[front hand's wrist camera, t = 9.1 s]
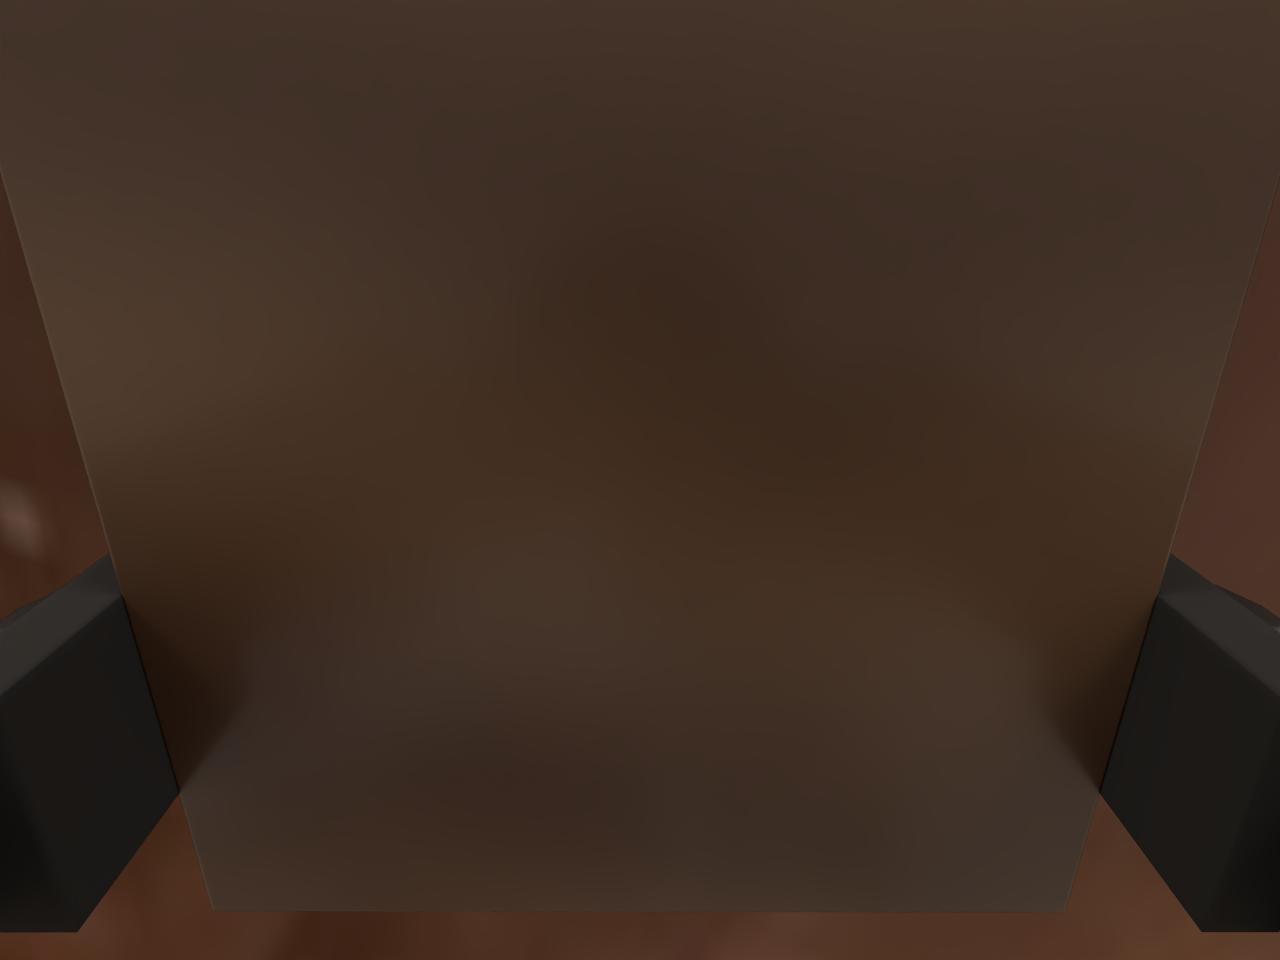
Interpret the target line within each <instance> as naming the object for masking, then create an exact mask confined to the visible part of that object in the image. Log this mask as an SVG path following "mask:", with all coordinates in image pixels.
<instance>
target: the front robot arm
mask: <svg viewBox="0 0 1280 960" xmlns="http://www.w3.org/2000/svg"><path fill="white" fill-rule="evenodd" d="M178 794H179V791H178V788H177V785H176V781H175V778H174V774H173V771H172V767H171V764H170V760H169V757H168V754H167V750H166V747H165V743H164V740H163V736H162V733H161V729H160V726H159V722H158V719H157V715H156V712H155V708H154V705H153V701H152V698H151V695H150V691H149V688H148V684H147V681H146V677H145V674H144V670H143V667H142V663H141V660H140V656H139V653H138V649H137V646H136V642H135V639H134V635H133V632H132V629H131V625H130V622H129V618H128V615H127V611H126V608H125V604H124V601H123V597H122V594H121V590H120V587H119V583H118V580H117V576H116V573H115V570H114V566H113V563H112V559H111V556H110V553H108V554H107V555H105V556H104V557H103V558H101V559H100V560H99V561H97V562H96V563H94V564H93V565H92V566H90V567H89V568H88V569H86V570H85V571H83V572H82V573H81V574H79V575H78V576H77V577H75V578H74V579H72V580H71V581H70V582H68V583H67V584H66V585H64V586H63V587H61V588H60V589H59V590H57V591H56V592H54V593H52V594H49V595H47V596H45V597H43V598H41V599H38V600H36V601H34V602H32V603H30V604H28V605H25V606H23V607H21V608H19V609H17V610H16V611H14V612H13V613H12V614H10V615H9V616H7V617H6V618H5V619H3V620H2V621H0V932H78V930H79V929H80V928H81V926H82V925H83V924H84V922H85V921H86V920H87V918H88V917H89V916H90V914H91V913H92V911H93V910H94V909H95V907H96V906H97V905H98V903H99V902H100V901H101V899H102V898H103V896H104V895H105V894H106V892H107V891H108V890H109V888H110V887H111V886H112V884H113V883H114V881H115V880H116V879H117V877H118V876H119V875H120V873H121V872H122V871H123V869H124V868H125V866H126V865H127V864H128V862H129V861H130V860H131V858H132V857H133V856H134V854H135V853H136V851H137V850H138V849H139V847H140V846H141V845H142V843H143V842H144V841H145V839H146V838H147V837H148V835H149V834H150V832H151V831H152V830H153V828H154V827H155V826H156V824H157V823H158V822H159V820H160V819H161V817H162V816H163V815H164V813H165V812H166V811H167V809H168V808H169V807H170V805H171V804H172V802H173V801H174V800H175V798H176V797H177V796H178ZM1100 794H1101V795H1102V797H1103V798H1104V800H1105V801H1106V802H1107V804H1108V805H1109V806H1110V808H1111V809H1112V810H1113V812H1114V813H1115V815H1116V816H1117V817H1118V819H1119V820H1120V821H1121V823H1122V824H1123V825H1124V827H1125V828H1126V829H1127V831H1128V832H1129V834H1130V835H1131V836H1132V838H1133V839H1134V840H1135V842H1136V843H1137V844H1138V846H1139V847H1140V849H1141V850H1142V851H1143V853H1144V854H1145V855H1146V857H1147V858H1148V859H1149V861H1150V862H1151V864H1152V865H1153V866H1154V868H1155V869H1156V870H1157V872H1158V873H1159V874H1160V876H1161V877H1162V879H1163V880H1164V881H1165V883H1166V884H1167V885H1168V887H1169V888H1170V889H1171V891H1172V892H1173V894H1174V895H1175V896H1176V898H1177V899H1178V900H1179V902H1180V903H1181V904H1182V906H1183V907H1184V909H1185V910H1186V911H1187V913H1188V914H1189V915H1190V917H1191V918H1192V919H1193V921H1194V922H1195V924H1196V925H1197V926H1198V928H1199V929H1200V930H1201V932H1279V931H1280V618H1278V617H1277V616H1275V615H1274V614H1273V613H1271V612H1270V611H1268V610H1267V609H1266V608H1264V607H1263V606H1261V605H1259V604H1257V603H1255V602H1252V601H1250V600H1248V599H1246V598H1244V597H1241V596H1239V595H1237V594H1235V593H1233V592H1230V591H1228V590H1226V589H1224V588H1222V587H1220V586H1217V585H1213V584H1212V583H1211V582H1209V581H1208V580H1207V579H1205V578H1204V577H1202V576H1201V575H1200V574H1198V573H1197V572H1196V571H1194V570H1193V569H1192V568H1190V567H1189V566H1187V565H1186V564H1185V563H1183V562H1182V561H1181V560H1179V559H1178V558H1176V557H1175V556H1174V555H1172V554H1171V553H1170V555H1169V558H1168V562H1167V565H1166V569H1165V572H1164V575H1163V579H1162V582H1161V586H1160V589H1159V592H1158V596H1157V599H1156V602H1155V606H1154V609H1153V613H1152V616H1151V620H1150V623H1149V626H1148V630H1147V633H1146V637H1145V640H1144V644H1143V647H1142V650H1141V654H1140V657H1139V661H1138V664H1137V667H1136V671H1135V674H1134V678H1133V681H1132V684H1131V688H1130V691H1129V695H1128V698H1127V702H1126V705H1125V708H1124V712H1123V715H1122V719H1121V722H1120V725H1119V729H1118V732H1117V736H1116V739H1115V742H1114V746H1113V749H1112V753H1111V756H1110V760H1109V763H1108V766H1107V770H1106V773H1105V777H1104V780H1103V783H1102V787H1101V790H1100Z"/></svg>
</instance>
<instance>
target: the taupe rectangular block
mask: <svg viewBox="0 0 1280 960" xmlns="http://www.w3.org/2000/svg"><path fill="white" fill-rule="evenodd" d="M0 174H1V177H2V181H3V184H4V188H5V191H6V194H7V198H8V201H9V205H10V208H11V212H12V215H13V219H14V222H15V226H16V229H17V233H18V236H19V240H20V243H21V247H22V250H23V254H24V257H25V260H26V264H27V267H28V271H29V274H30V278H31V281H32V285H33V288H34V292H35V295H36V299H37V302H38V306H39V309H40V313H41V316H42V319H43V323H44V326H45V330H46V333H47V337H48V340H49V344H50V347H51V351H52V354H53V358H54V361H55V365H56V368H57V372H58V375H59V379H60V382H61V385H62V389H63V392H64V396H65V399H66V403H67V406H68V410H69V413H70V417H71V420H72V424H73V427H74V431H75V434H76V438H77V441H78V444H79V448H80V451H81V455H82V458H83V462H84V465H85V469H86V472H87V476H88V479H89V483H90V486H91V490H92V493H93V497H94V500H95V504H96V507H97V510H98V514H99V517H100V521H101V524H102V528H103V531H104V535H105V538H106V542H107V545H108V549H109V552H110V556H111V559H112V563H113V566H114V570H115V573H116V576H117V580H118V583H119V587H120V590H121V594H122V597H123V601H124V604H125V608H126V611H127V615H128V618H129V622H130V625H131V629H132V632H133V635H134V639H135V642H136V646H137V649H138V653H139V656H140V660H141V663H142V667H143V670H144V674H145V677H146V681H147V684H148V688H149V691H150V695H151V698H152V701H153V705H154V708H155V712H156V715H157V719H158V722H159V726H160V729H161V733H162V736H163V740H164V743H165V747H166V750H167V754H168V757H169V760H170V764H171V767H172V771H173V774H174V778H175V781H176V785H177V788H178V791H179V795H180V799H181V802H182V806H183V809H184V813H185V816H186V820H187V823H188V826H189V830H190V833H191V837H192V840H193V844H194V847H195V851H196V854H197V858H198V861H199V865H200V868H201V872H202V875H203V879H204V882H205V886H206V889H207V892H208V896H209V899H210V903H211V906H212V909H213V910H215V911H498V912H1064V911H1065V910H1066V906H1067V903H1068V899H1069V896H1070V893H1071V889H1072V886H1073V882H1074V879H1075V875H1076V872H1077V869H1078V865H1079V862H1080V858H1081V855H1082V852H1083V848H1084V845H1085V841H1086V838H1087V835H1088V831H1089V828H1090V824H1091V821H1092V817H1093V814H1094V811H1095V807H1096V804H1097V800H1098V797H1099V794H1100V790H1101V787H1102V783H1103V780H1104V777H1105V773H1106V770H1107V766H1108V763H1109V760H1110V756H1111V753H1112V749H1113V746H1114V742H1115V739H1116V736H1117V732H1118V729H1119V725H1120V722H1121V719H1122V715H1123V712H1124V708H1125V705H1126V702H1127V698H1128V695H1129V691H1130V688H1131V684H1132V681H1133V678H1134V674H1135V671H1136V667H1137V664H1138V661H1139V657H1140V654H1141V650H1142V647H1143V644H1144V640H1145V637H1146V633H1147V630H1148V626H1149V623H1150V620H1151V616H1152V613H1153V609H1154V606H1155V602H1156V599H1157V596H1158V592H1159V589H1160V586H1161V582H1162V579H1163V575H1164V572H1165V569H1166V565H1167V562H1168V558H1169V555H1170V551H1171V548H1172V545H1173V541H1174V538H1175V534H1176V531H1177V528H1178V524H1179V521H1180V517H1181V514H1182V511H1183V507H1184V504H1185V500H1186V497H1187V493H1188V490H1189V487H1190V483H1191V480H1192V476H1193V473H1194V470H1195V466H1196V463H1197V459H1198V456H1199V453H1200V449H1201V446H1202V442H1203V439H1204V435H1205V432H1206V429H1207V425H1208V422H1209V418H1210V415H1211V412H1212V408H1213V405H1214V401H1215V398H1216V395H1217V391H1218V388H1219V384H1220V381H1221V378H1222V374H1223V371H1224V367H1225V364H1226V360H1227V357H1228V354H1229V350H1230V347H1231V343H1232V340H1233V337H1234V333H1235V330H1236V326H1237V323H1238V320H1239V316H1240V313H1241V309H1242V306H1243V302H1244V299H1245V296H1246V292H1247V289H1248V285H1249V282H1250V279H1251V275H1252V272H1253V268H1254V265H1255V262H1256V258H1257V255H1258V251H1259V248H1260V244H1261V241H1262V238H1263V234H1264V231H1265V227H1266V224H1267V221H1268V217H1269V214H1270V210H1271V207H1272V204H1273V200H1274V197H1275V193H1276V190H1277V187H1278V183H1279V180H1280V0H0Z"/></svg>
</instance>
